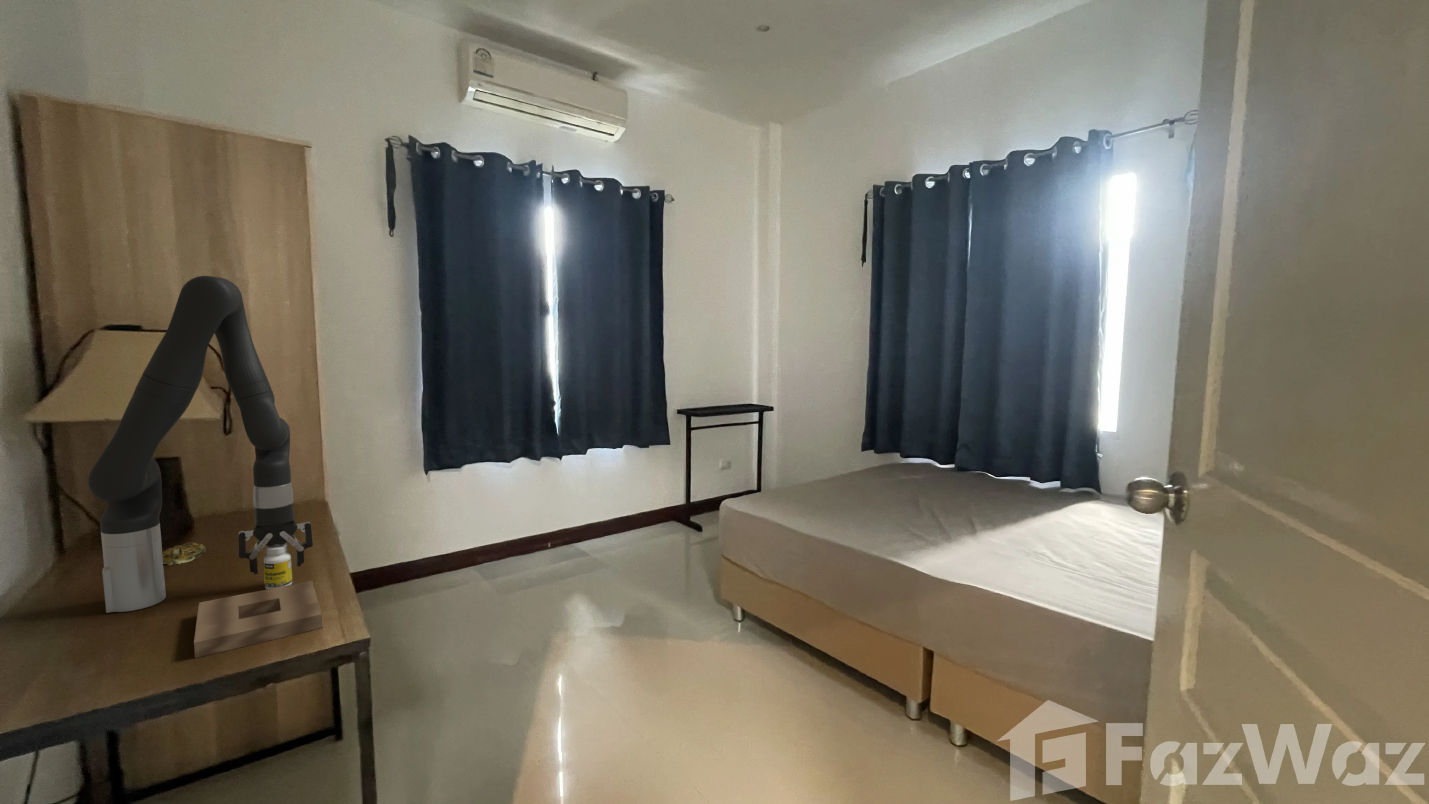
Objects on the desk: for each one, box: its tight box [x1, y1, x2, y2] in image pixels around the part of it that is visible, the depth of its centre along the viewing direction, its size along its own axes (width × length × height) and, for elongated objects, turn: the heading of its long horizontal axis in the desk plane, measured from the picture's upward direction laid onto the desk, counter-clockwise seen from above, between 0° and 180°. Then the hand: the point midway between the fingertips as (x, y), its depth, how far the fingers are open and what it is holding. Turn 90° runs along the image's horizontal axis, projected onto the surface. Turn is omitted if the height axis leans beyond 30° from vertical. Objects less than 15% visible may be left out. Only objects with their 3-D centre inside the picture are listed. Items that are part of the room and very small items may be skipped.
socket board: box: [193, 580, 323, 659], centre depth 127 cm, size 20×20×3 cm
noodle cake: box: [162, 542, 207, 566], centre depth 160 cm, size 9×5×15 cm
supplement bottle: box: [262, 543, 293, 590], centre depth 144 cm, size 5×5×10 cm
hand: (277, 569), depth 144 cm, fingers open, 8 cm apart
